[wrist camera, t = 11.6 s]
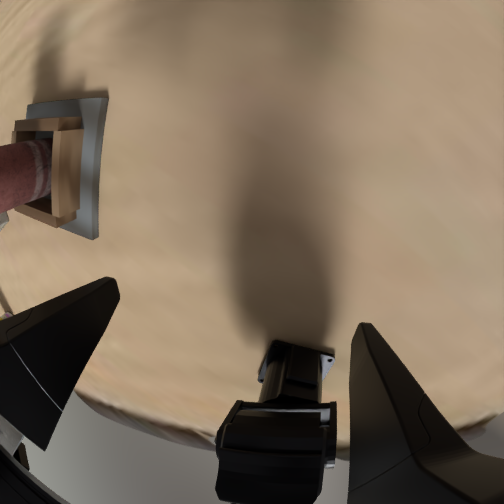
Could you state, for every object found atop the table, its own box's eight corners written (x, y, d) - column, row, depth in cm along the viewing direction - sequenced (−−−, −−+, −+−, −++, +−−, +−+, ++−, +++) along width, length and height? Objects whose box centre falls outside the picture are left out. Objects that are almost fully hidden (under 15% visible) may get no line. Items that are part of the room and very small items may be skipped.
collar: (98, 236, 25) (72, 251, 21) (30, 210, 26) (8, 220, 23) (108, 98, 19) (78, 96, 15) (33, 104, 20) (8, 106, 17)
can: (66, 199, 23) (-44, 250, 10) (36, 184, 23) (-60, 223, 11) (73, 142, 20) (-52, 173, 8) (41, 133, 21) (-64, 158, 8)
